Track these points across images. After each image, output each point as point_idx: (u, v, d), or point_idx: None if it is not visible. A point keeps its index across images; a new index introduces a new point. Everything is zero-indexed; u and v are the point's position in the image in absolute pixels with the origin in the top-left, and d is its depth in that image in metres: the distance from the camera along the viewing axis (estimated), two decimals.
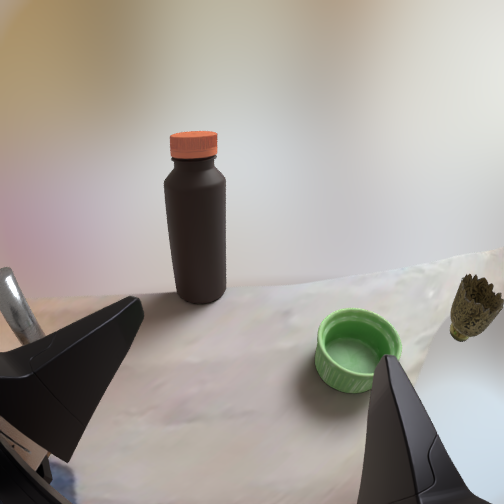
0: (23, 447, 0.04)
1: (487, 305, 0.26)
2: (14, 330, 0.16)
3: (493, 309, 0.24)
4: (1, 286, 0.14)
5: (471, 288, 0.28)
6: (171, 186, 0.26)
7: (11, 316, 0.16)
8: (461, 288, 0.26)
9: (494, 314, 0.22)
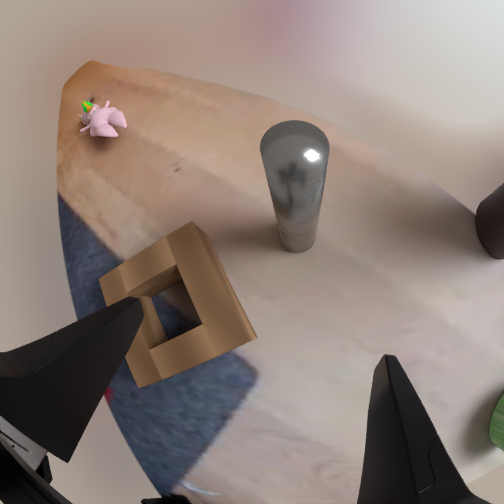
0: (23, 447, 0.04)
1: None
2: (280, 212, 0.16)
3: None
4: (301, 175, 0.11)
5: None
6: None
7: (291, 206, 0.14)
8: None
9: None
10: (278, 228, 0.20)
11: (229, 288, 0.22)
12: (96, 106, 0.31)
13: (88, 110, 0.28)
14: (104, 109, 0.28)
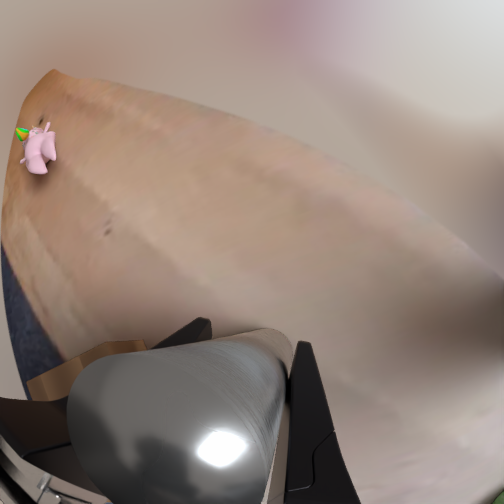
0: (86, 501, 0.04)
1: None
2: None
3: None
4: None
5: None
6: None
7: None
8: None
9: None
10: None
11: None
12: (36, 130, 0.23)
13: (23, 138, 0.20)
14: (37, 136, 0.20)
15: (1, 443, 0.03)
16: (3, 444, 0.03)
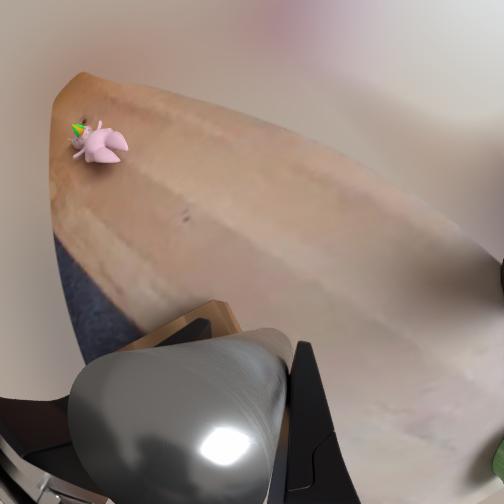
0: (86, 501, 0.04)
1: None
2: None
3: None
4: None
5: None
6: None
7: None
8: None
9: None
10: None
11: None
12: (88, 128, 0.29)
13: (80, 134, 0.26)
14: (99, 131, 0.26)
15: (1, 443, 0.03)
16: (3, 444, 0.03)
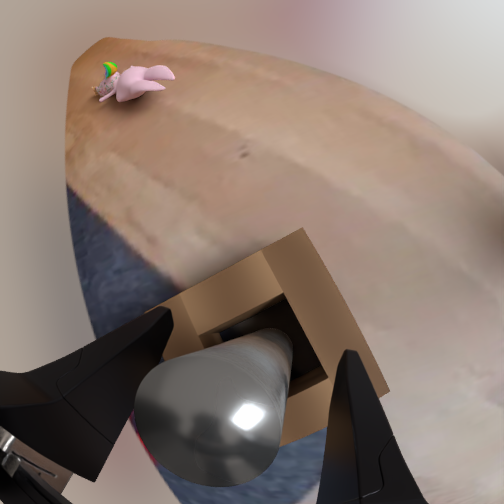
0: (49, 472, 0.04)
1: None
2: None
3: None
4: None
5: None
6: None
7: None
8: None
9: None
10: None
11: None
12: (117, 73, 0.25)
13: (112, 72, 0.22)
14: (136, 67, 0.22)
15: None
16: None
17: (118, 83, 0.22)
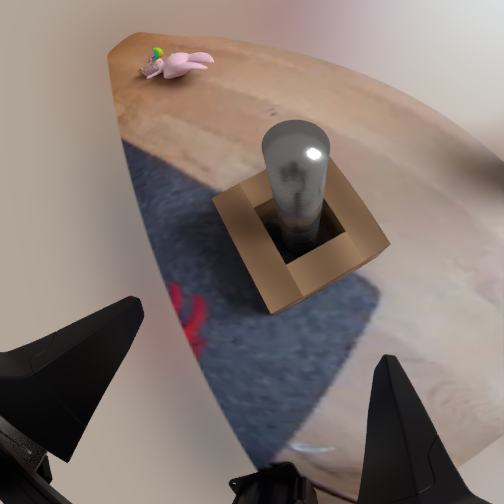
0: (23, 447, 0.04)
1: None
2: (281, 211, 0.16)
3: None
4: (302, 174, 0.11)
5: None
6: None
7: (292, 204, 0.14)
8: None
9: None
10: (280, 228, 0.20)
11: None
12: (160, 58, 0.32)
13: (160, 55, 0.29)
14: (181, 53, 0.29)
15: None
16: None
17: (166, 64, 0.29)
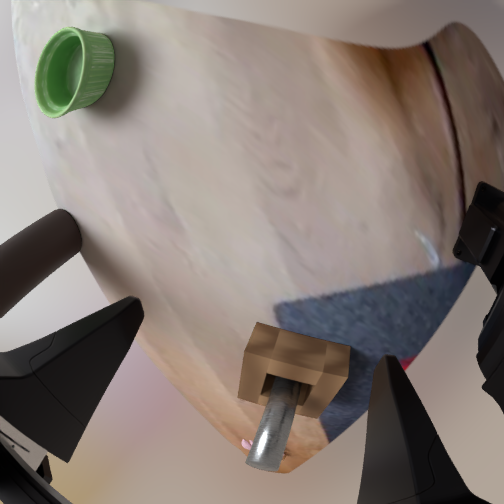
0: (23, 447, 0.04)
1: None
2: (291, 425, 0.22)
3: None
4: (270, 463, 0.18)
5: None
6: None
7: (283, 436, 0.20)
8: None
9: None
10: None
11: None
12: None
13: None
14: None
15: None
16: None
17: None
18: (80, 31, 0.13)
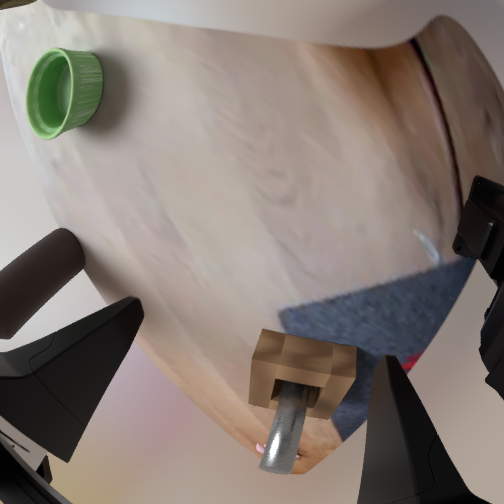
0: (23, 447, 0.04)
1: None
2: (302, 428, 0.22)
3: None
4: (283, 467, 0.18)
5: None
6: (6, 332, 0.18)
7: (295, 440, 0.20)
8: (2, 8, 0.07)
9: None
10: None
11: None
12: None
13: None
14: None
15: None
16: None
17: None
18: (66, 52, 0.13)
